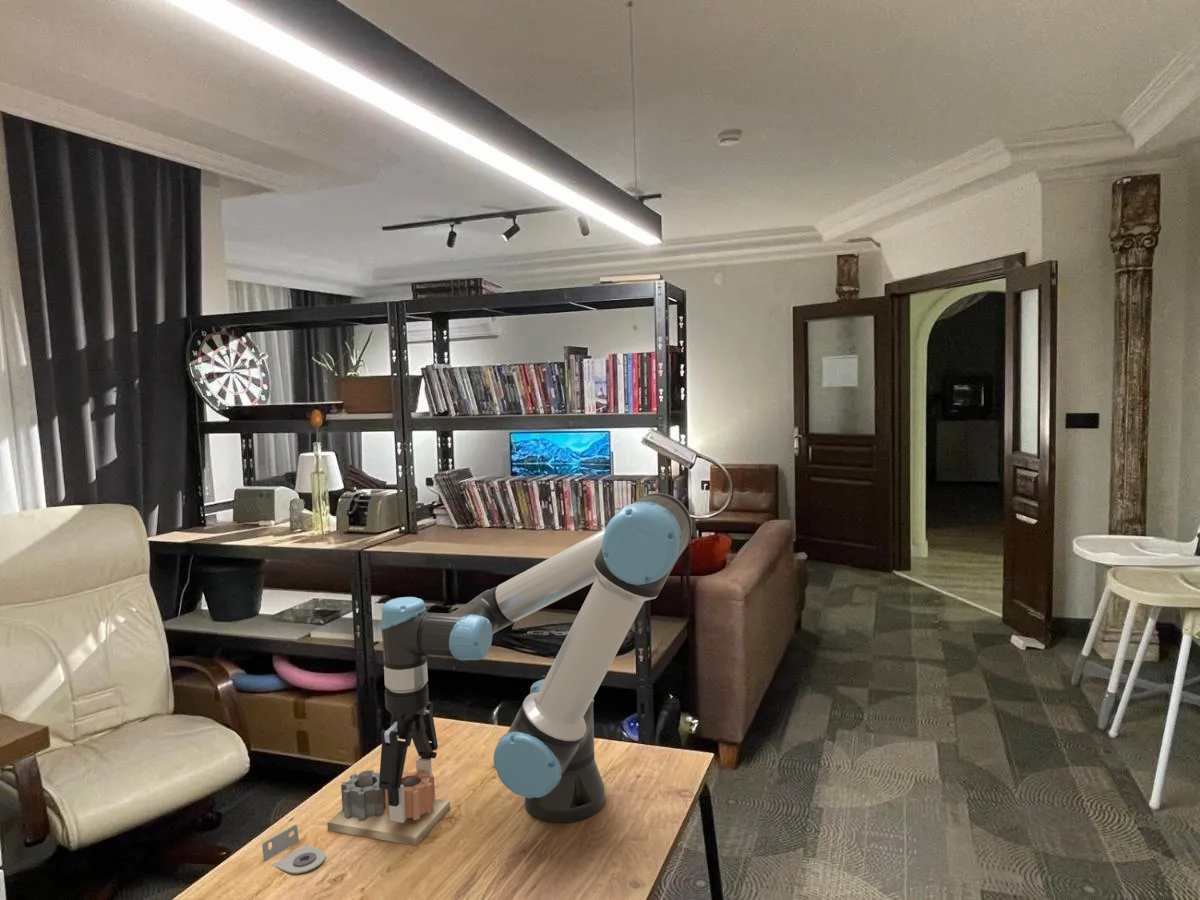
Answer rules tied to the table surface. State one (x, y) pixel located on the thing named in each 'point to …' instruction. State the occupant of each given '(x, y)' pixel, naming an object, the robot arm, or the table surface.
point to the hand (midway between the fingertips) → (411, 806)
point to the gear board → (380, 812)
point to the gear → (417, 794)
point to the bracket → (293, 853)
